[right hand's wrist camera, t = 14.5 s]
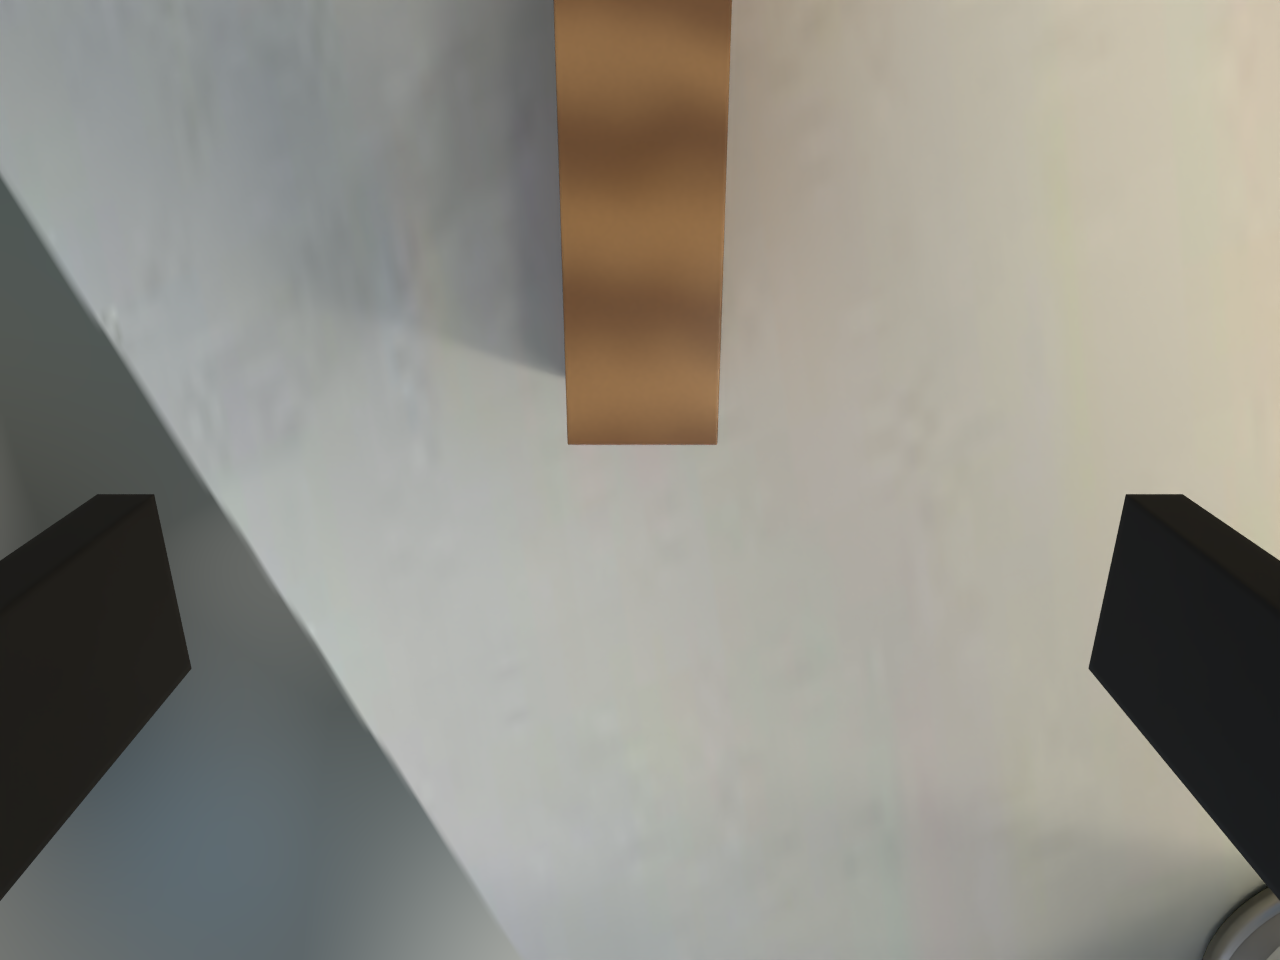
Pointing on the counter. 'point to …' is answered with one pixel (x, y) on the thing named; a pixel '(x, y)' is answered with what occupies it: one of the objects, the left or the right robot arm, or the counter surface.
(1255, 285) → the counter surface
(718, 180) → the post
